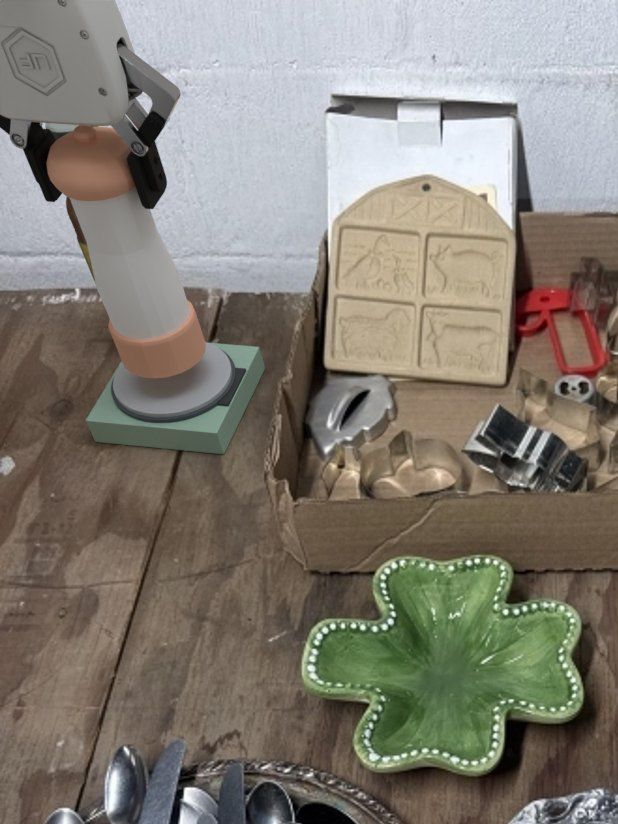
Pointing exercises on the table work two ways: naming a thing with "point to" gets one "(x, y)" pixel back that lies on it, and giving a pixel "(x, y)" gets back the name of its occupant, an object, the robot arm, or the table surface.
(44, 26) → the robot arm
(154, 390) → the scale
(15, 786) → the table surface
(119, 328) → the pepper shaker
